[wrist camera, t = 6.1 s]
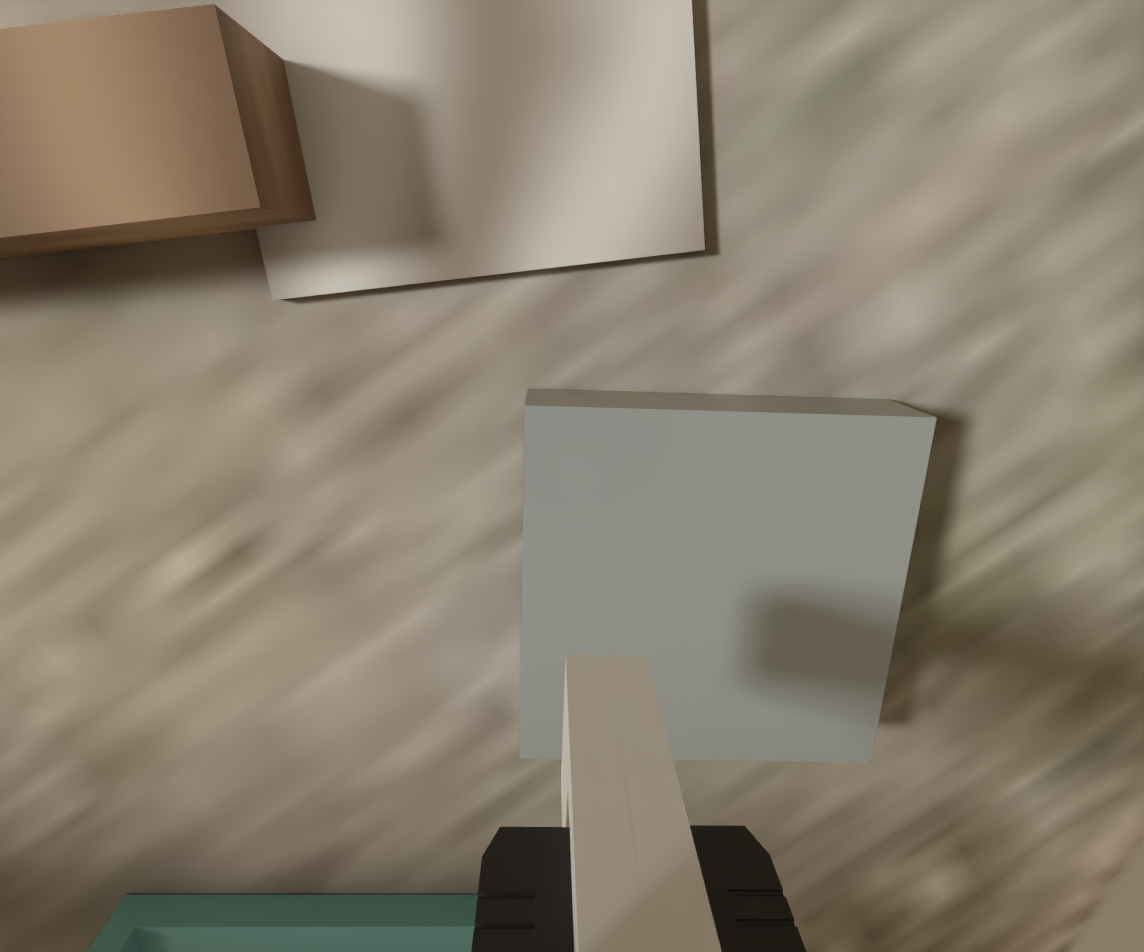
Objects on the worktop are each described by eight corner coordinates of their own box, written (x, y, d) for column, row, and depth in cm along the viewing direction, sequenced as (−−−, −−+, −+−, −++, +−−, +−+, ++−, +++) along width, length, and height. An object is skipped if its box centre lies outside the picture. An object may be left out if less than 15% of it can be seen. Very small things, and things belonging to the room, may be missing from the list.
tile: (518, 759, 19) (870, 762, 20) (524, 405, 16) (936, 417, 17) (522, 701, 22) (833, 704, 22) (528, 386, 19) (884, 397, 19)
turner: (-119, 345, 18) (-301, 365, 14) (-239, 42, 16) (-489, -31, 12) (700, 250, 18) (740, 244, 14) (682, -66, 16) (725, -174, 12)
